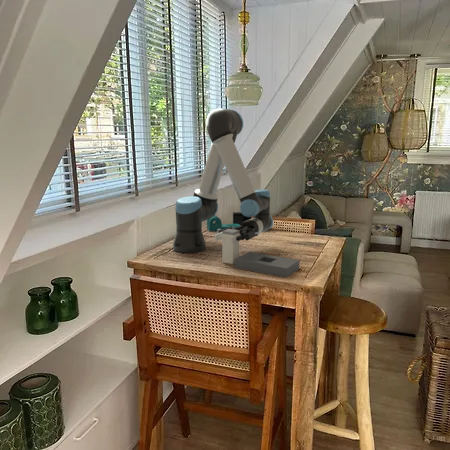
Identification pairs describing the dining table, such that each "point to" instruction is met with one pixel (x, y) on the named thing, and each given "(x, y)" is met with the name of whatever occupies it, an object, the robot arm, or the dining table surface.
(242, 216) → the digital camera
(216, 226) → the bracket
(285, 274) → the plate with square hole
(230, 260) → the plug
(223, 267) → the dining table surface
